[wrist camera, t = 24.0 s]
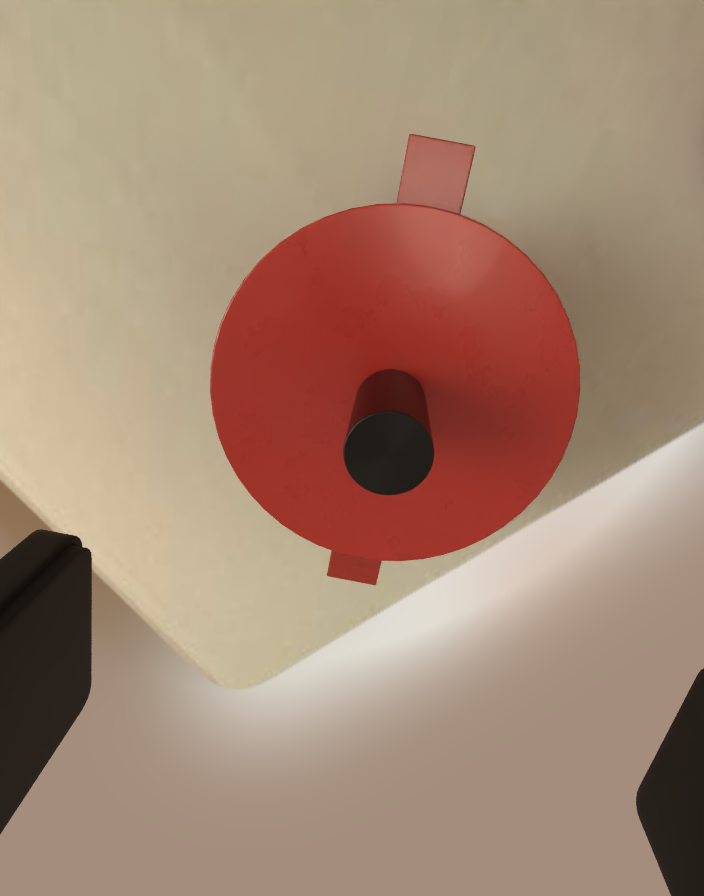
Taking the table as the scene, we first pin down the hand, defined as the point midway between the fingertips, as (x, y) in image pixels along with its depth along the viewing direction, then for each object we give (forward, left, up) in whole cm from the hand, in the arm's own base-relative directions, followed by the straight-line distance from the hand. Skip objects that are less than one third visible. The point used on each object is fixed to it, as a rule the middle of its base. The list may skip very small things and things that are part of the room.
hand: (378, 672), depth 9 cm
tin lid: (0, 0, -15) cm, 15 cm away
